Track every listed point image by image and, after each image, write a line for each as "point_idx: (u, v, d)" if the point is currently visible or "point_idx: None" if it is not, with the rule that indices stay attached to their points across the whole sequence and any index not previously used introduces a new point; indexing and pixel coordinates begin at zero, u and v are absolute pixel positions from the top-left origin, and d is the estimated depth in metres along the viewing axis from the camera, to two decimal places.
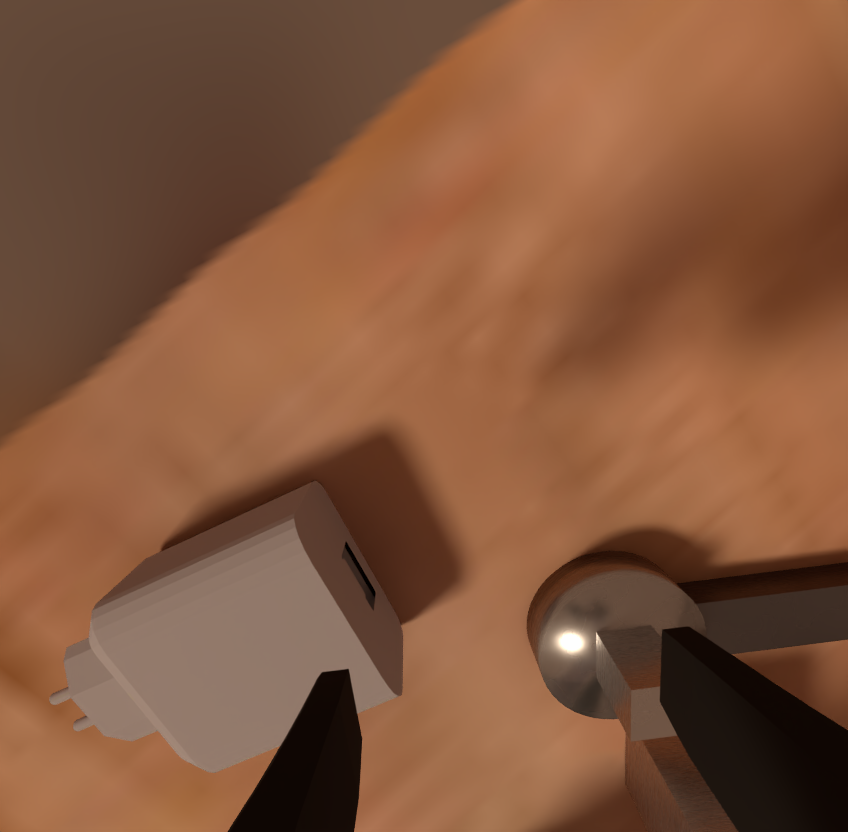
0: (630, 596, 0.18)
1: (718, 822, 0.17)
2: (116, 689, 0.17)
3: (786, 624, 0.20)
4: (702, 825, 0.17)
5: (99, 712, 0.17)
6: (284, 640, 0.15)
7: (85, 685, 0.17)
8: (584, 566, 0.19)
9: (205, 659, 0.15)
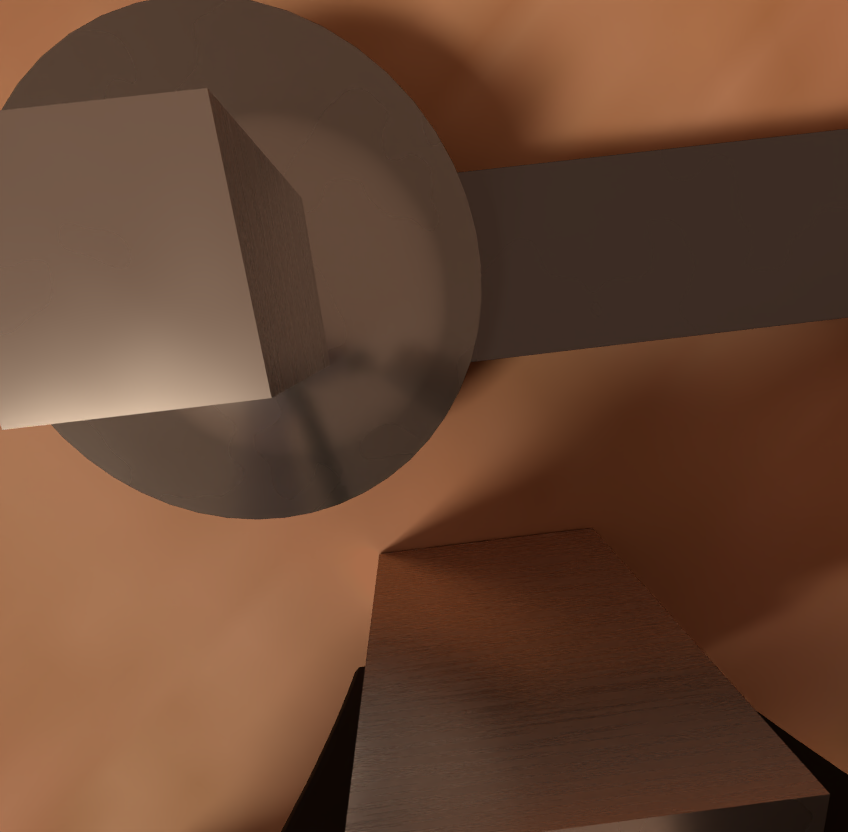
0: (212, 77, 0.06)
1: (450, 781, 0.05)
2: None
3: (719, 256, 0.07)
4: (391, 792, 0.05)
5: None
6: None
7: None
8: None
9: None
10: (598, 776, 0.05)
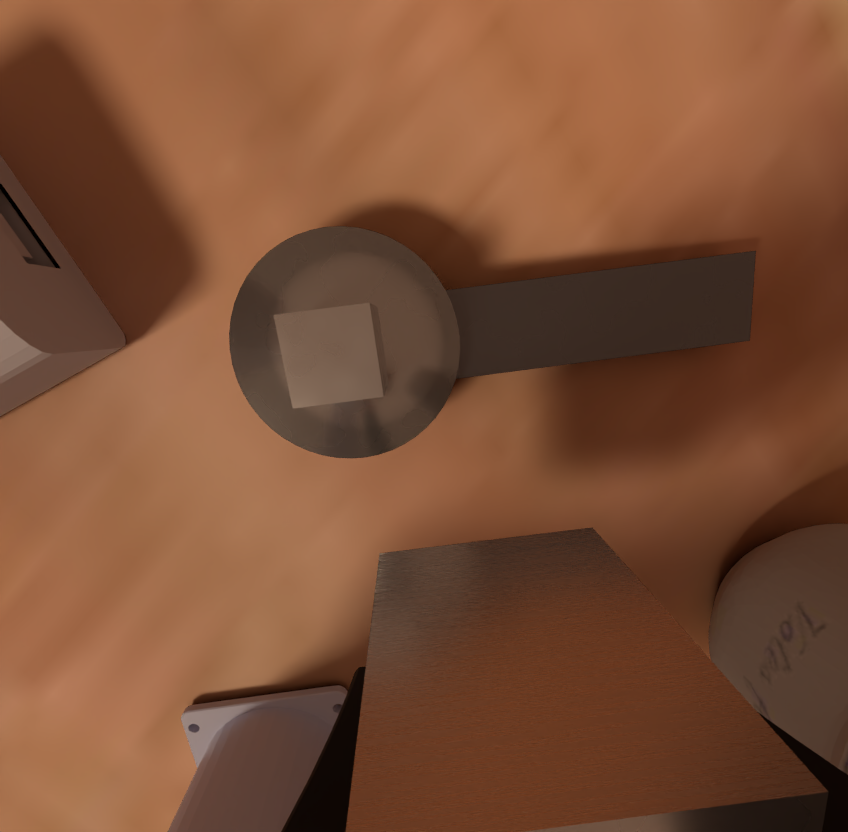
0: (340, 258, 0.13)
1: (450, 779, 0.05)
2: None
3: (577, 325, 0.15)
4: (392, 789, 0.05)
5: None
6: None
7: None
8: None
9: None
10: (597, 775, 0.05)
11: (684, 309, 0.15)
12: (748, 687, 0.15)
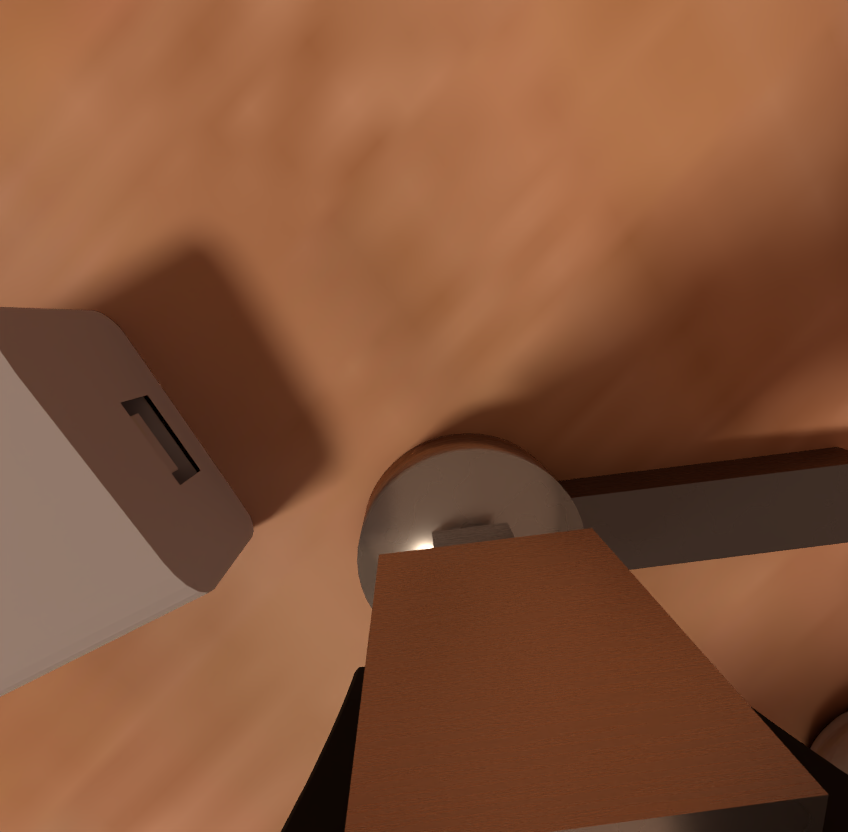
0: (474, 479, 0.13)
1: (449, 783, 0.05)
2: None
3: (698, 528, 0.15)
4: (391, 793, 0.05)
5: None
6: (0, 502, 0.10)
7: None
8: (424, 448, 0.14)
9: None
10: (596, 777, 0.05)
11: (805, 512, 0.15)
12: None
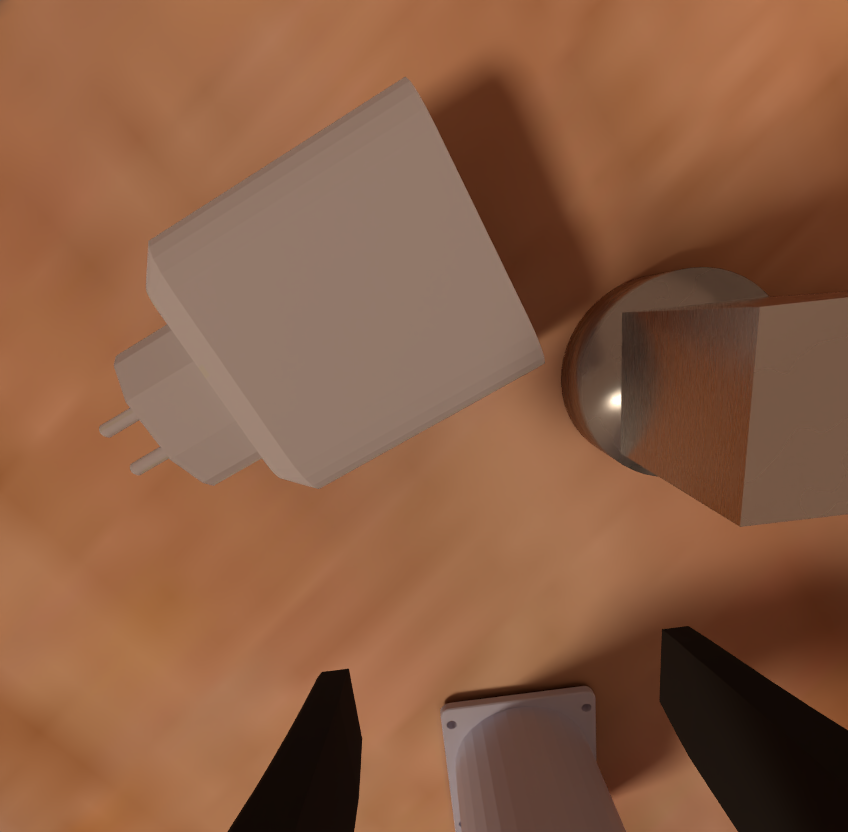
0: (697, 296, 0.14)
1: (790, 302, 0.09)
2: (182, 388, 0.13)
3: None
4: (761, 305, 0.09)
5: (162, 424, 0.14)
6: (400, 257, 0.11)
7: (144, 386, 0.13)
8: (635, 280, 0.16)
9: (298, 292, 0.12)
10: None
11: None
12: None
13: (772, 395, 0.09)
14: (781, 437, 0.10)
